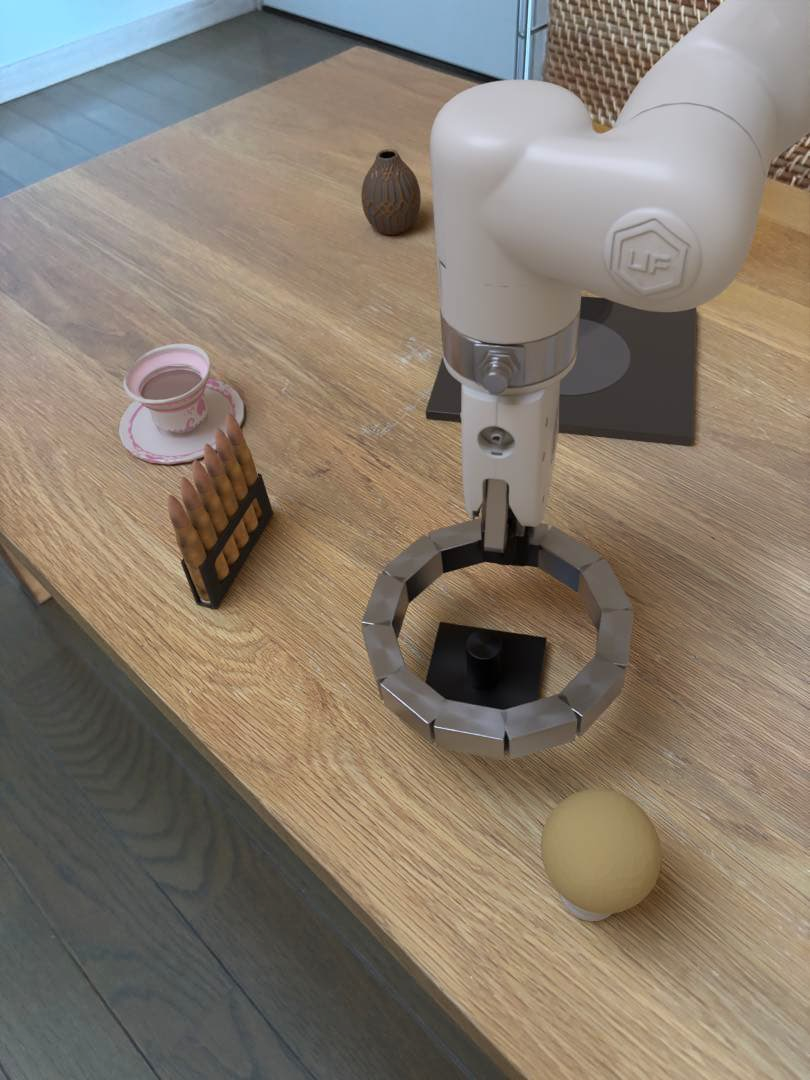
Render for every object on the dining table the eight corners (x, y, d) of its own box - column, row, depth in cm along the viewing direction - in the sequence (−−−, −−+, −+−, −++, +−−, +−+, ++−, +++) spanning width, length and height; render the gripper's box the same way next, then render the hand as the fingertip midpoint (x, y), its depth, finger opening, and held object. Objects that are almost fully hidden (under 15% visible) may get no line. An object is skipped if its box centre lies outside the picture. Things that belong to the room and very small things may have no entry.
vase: (422, 240, 101) (417, 167, 94) (363, 243, 101) (355, 170, 95) (422, 209, 105) (418, 137, 99) (366, 212, 106) (358, 141, 99)
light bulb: (569, 968, 50) (585, 913, 42) (516, 866, 54) (522, 799, 46) (663, 919, 51) (695, 857, 43) (605, 824, 55) (625, 752, 47)
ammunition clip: (255, 508, 75) (223, 402, 66) (274, 513, 74) (245, 407, 65) (195, 604, 68) (151, 502, 59) (216, 610, 68) (174, 507, 59)
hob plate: (694, 312, 89) (696, 303, 88) (691, 446, 76) (693, 437, 75) (464, 295, 93) (464, 286, 92) (426, 418, 81) (425, 410, 80)
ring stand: (546, 644, 64) (550, 605, 60) (531, 741, 59) (535, 705, 55) (440, 628, 65) (437, 589, 62) (417, 722, 60) (413, 685, 57)
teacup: (207, 478, 78) (190, 426, 73) (96, 452, 81) (72, 401, 76) (266, 393, 85) (253, 342, 80) (161, 373, 88) (143, 322, 83)
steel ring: (638, 559, 61) (642, 535, 59) (612, 782, 50) (616, 762, 48) (406, 528, 65) (402, 504, 63) (337, 728, 54) (330, 707, 52)
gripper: (562, 435, 42) (547, 645, 56) (591, 255, 52) (572, 472, 66) (411, 421, 43) (434, 630, 57) (468, 250, 53) (475, 463, 67)
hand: (508, 544), depth 61 cm, fingers closed on steel ring, 2 cm apart
